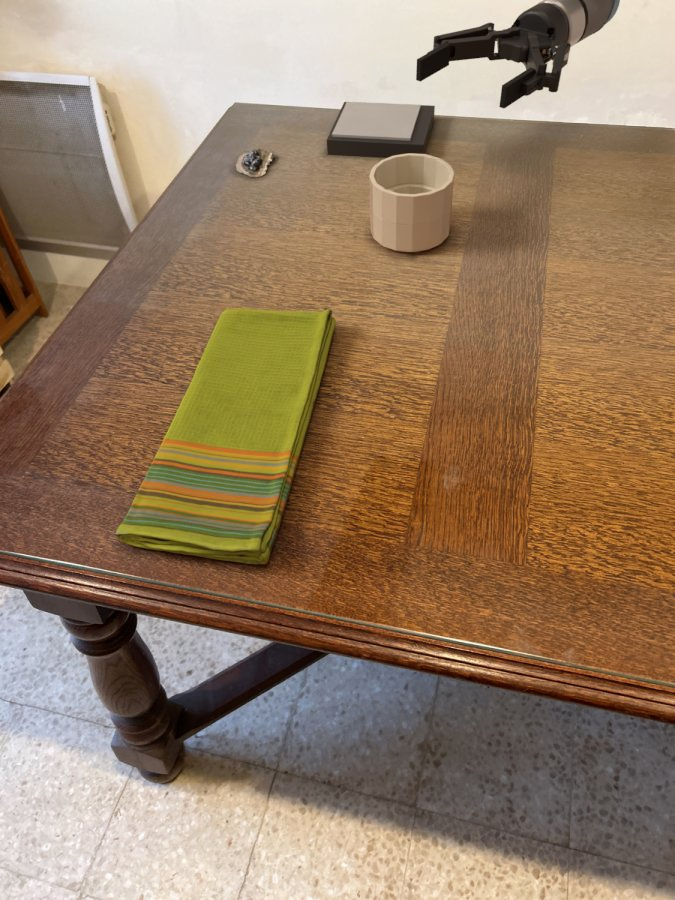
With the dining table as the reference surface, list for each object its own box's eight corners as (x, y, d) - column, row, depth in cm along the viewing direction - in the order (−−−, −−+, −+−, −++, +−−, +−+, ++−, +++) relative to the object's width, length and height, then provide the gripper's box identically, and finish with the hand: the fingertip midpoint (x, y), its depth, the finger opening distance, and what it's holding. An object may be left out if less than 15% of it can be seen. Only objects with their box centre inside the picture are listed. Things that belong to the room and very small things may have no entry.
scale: (434, 120, 124) (435, 102, 122) (423, 159, 115) (423, 141, 113) (344, 115, 127) (344, 98, 124) (327, 154, 118) (326, 136, 116)
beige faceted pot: (453, 214, 104) (458, 155, 98) (444, 258, 98) (448, 198, 91) (378, 209, 106) (378, 151, 100) (364, 252, 99) (362, 193, 93)
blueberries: (274, 151, 120) (272, 140, 118) (278, 174, 114) (277, 163, 113) (234, 156, 119) (232, 145, 118) (237, 180, 114) (235, 169, 113)
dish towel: (117, 549, 69) (107, 531, 67) (222, 316, 92) (218, 296, 89) (268, 570, 67) (264, 552, 64) (338, 326, 89) (337, 306, 87)
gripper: (618, 79, 100) (536, 138, 90) (472, 39, 111) (386, 88, 102) (633, 21, 94) (547, 77, 85) (477, -16, 106) (386, 31, 96)
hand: (459, 83), depth 93 cm, fingers open, 13 cm apart
